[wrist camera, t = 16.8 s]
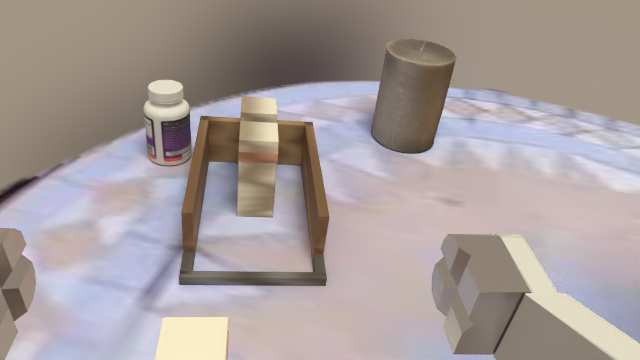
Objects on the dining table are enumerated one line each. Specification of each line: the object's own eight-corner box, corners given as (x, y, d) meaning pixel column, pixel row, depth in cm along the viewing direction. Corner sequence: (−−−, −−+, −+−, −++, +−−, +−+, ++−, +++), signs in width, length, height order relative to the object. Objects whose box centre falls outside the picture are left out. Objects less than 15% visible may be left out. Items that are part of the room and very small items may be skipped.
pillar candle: (436, 130, 79) (460, 37, 71) (430, 160, 71) (457, 60, 63) (376, 117, 81) (393, 25, 73) (364, 145, 73) (382, 45, 65)
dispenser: (307, 161, 67) (315, 93, 62) (325, 285, 49) (339, 206, 44) (201, 156, 65) (200, 86, 60) (179, 284, 47) (174, 201, 42)
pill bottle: (197, 148, 67) (195, 81, 61) (182, 170, 62) (178, 99, 57) (159, 141, 67) (153, 73, 62) (140, 162, 63) (133, 91, 57)
